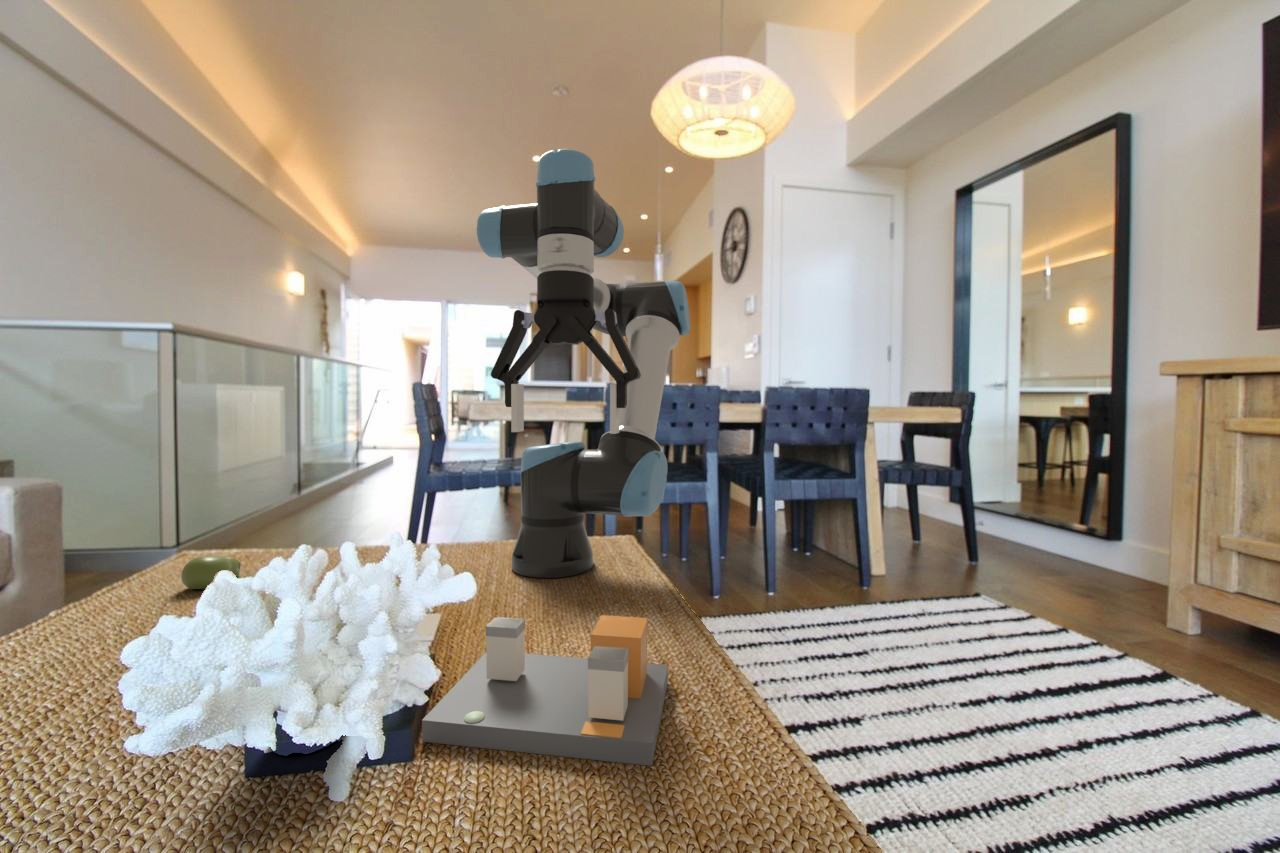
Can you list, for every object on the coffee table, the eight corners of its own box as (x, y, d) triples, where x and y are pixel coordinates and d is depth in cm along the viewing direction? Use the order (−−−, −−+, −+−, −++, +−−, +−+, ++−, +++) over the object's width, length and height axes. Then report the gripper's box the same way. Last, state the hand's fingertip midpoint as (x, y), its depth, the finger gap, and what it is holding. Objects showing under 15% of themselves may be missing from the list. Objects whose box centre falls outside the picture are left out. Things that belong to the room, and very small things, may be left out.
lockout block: (601, 669, 59) (601, 615, 59) (647, 673, 58) (647, 618, 58) (590, 694, 54) (590, 634, 54) (640, 698, 53) (640, 638, 53)
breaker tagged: (594, 702, 52) (594, 645, 52) (628, 705, 51) (628, 648, 51) (587, 717, 49) (587, 658, 49) (623, 720, 49) (623, 660, 49)
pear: (173, 558, 87) (218, 552, 97) (170, 593, 86) (216, 582, 96) (210, 558, 87) (251, 551, 97) (207, 592, 86) (248, 582, 96)
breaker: (495, 667, 59) (495, 616, 58) (525, 669, 58) (525, 618, 58) (485, 678, 56) (485, 626, 56) (516, 681, 56) (516, 628, 55)
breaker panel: (487, 667, 63) (487, 649, 63) (667, 682, 60) (668, 663, 60) (422, 741, 49) (422, 719, 49) (651, 765, 46) (652, 741, 46)
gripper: (465, 270, 71) (466, 432, 72) (654, 264, 68) (653, 435, 69) (489, 282, 79) (490, 429, 80) (661, 278, 75) (659, 432, 76)
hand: (565, 432), depth 74 cm, fingers open, 13 cm apart
